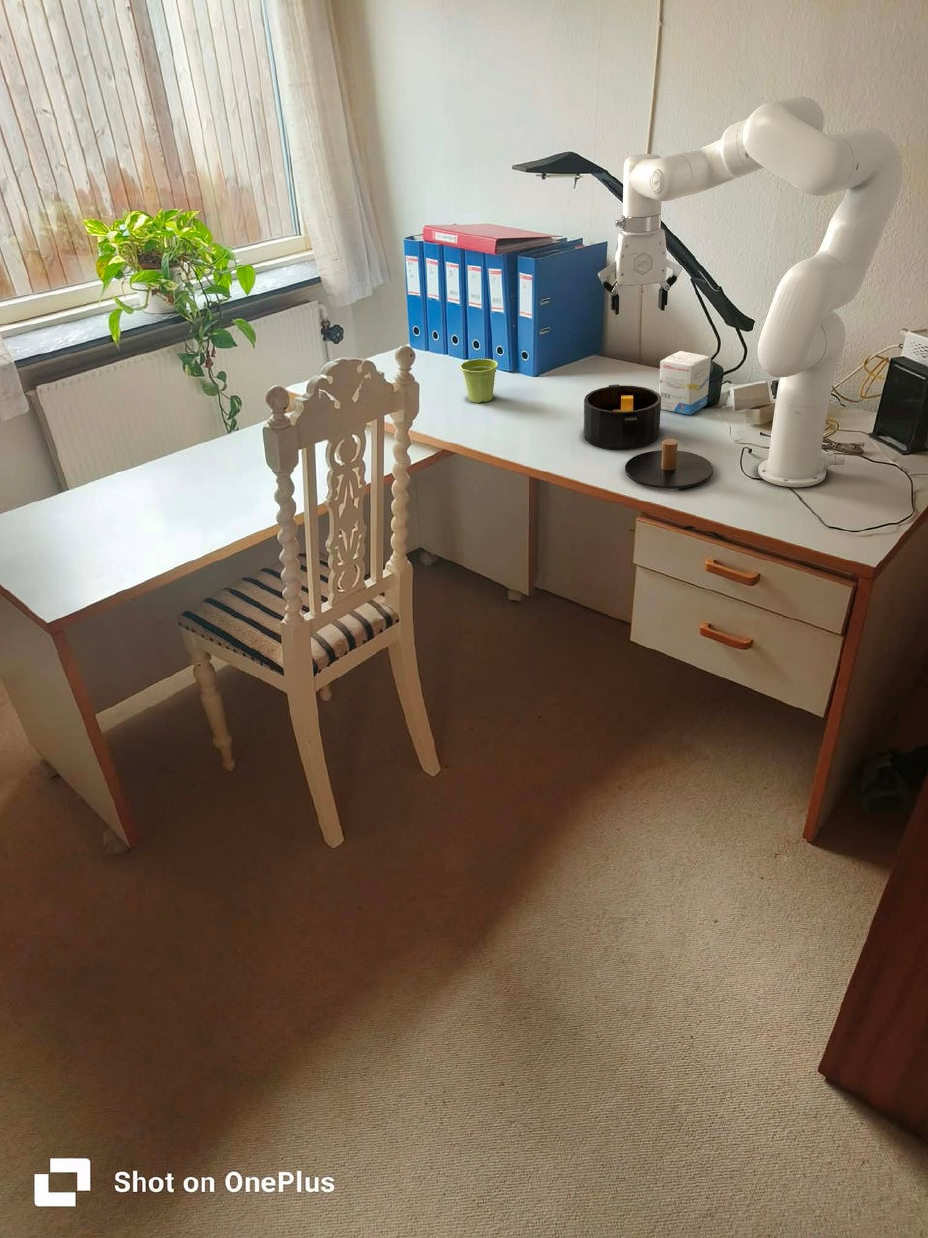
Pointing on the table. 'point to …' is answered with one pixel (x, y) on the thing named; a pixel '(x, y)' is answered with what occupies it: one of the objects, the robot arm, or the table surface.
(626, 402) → the orange stepped block
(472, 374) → the plant pot
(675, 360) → the ink box
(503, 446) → the table surface
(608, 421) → the pot
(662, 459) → the lid
